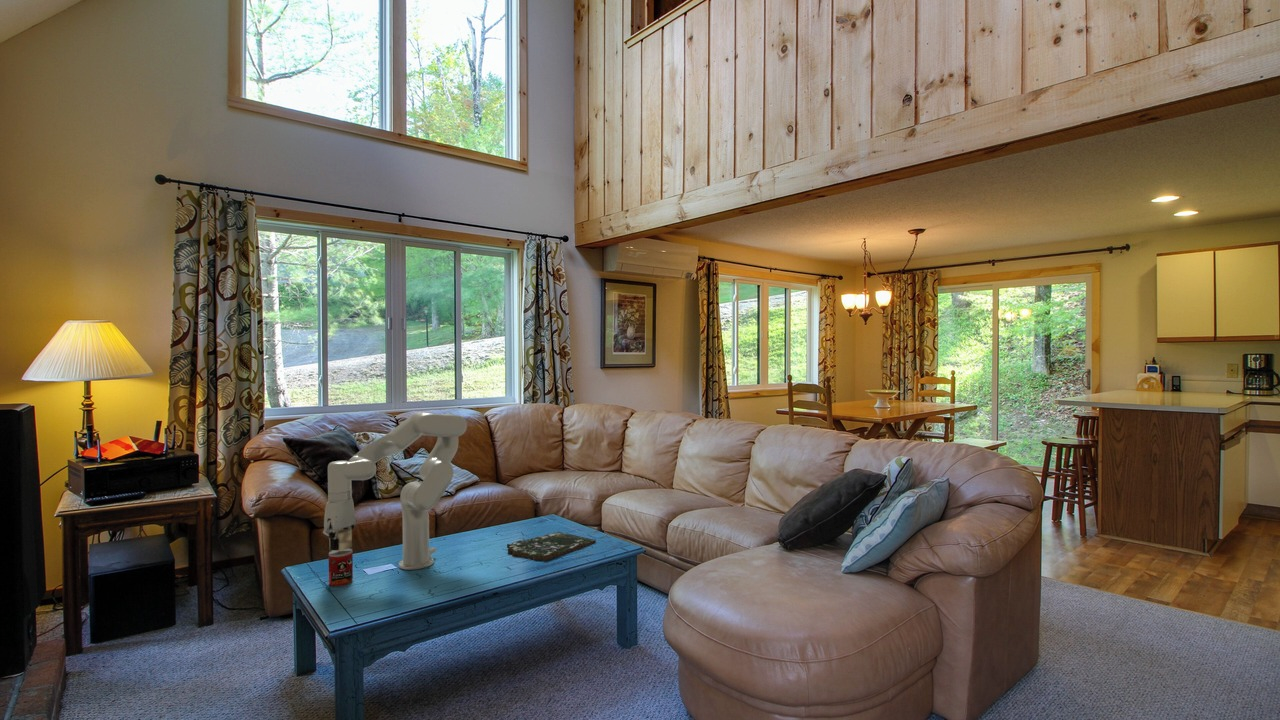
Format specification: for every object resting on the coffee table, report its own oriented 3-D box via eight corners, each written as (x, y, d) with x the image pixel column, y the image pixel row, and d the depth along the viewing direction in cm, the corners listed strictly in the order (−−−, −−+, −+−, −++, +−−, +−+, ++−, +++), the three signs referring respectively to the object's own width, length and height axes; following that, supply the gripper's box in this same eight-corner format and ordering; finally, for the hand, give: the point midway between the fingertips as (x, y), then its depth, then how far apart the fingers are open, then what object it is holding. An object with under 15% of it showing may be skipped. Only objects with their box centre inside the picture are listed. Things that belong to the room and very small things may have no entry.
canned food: (329, 588, 209) (329, 556, 209) (327, 581, 216) (327, 550, 216) (354, 583, 213) (353, 552, 213) (351, 577, 220) (351, 546, 220)
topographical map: (595, 543, 258) (595, 536, 258) (539, 565, 232) (539, 557, 232) (552, 533, 273) (552, 527, 273) (495, 552, 247) (495, 545, 247)
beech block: (340, 545, 218) (340, 529, 218) (351, 546, 216) (351, 530, 216) (329, 549, 213) (329, 532, 213) (341, 551, 211) (340, 533, 211)
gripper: (349, 490, 224) (350, 539, 224) (312, 501, 207) (312, 554, 207) (366, 491, 221) (366, 541, 221) (329, 502, 205) (330, 555, 205)
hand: (340, 546), depth 214 cm, fingers closed on beech block, 5 cm apart
